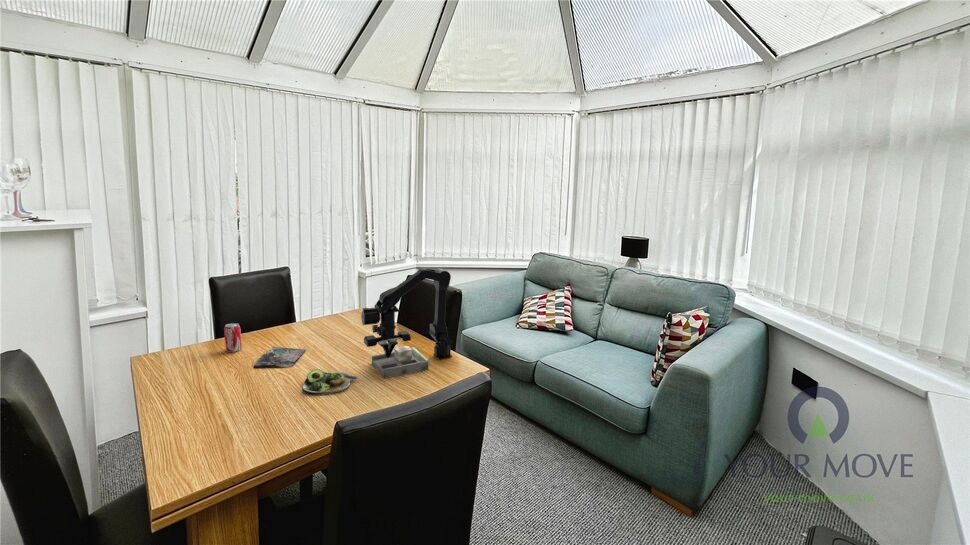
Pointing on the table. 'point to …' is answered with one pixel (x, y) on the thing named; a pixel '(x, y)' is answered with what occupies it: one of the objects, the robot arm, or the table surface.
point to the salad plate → (326, 382)
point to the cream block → (403, 353)
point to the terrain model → (279, 358)
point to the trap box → (399, 364)
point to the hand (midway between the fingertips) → (387, 357)
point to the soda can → (232, 337)
